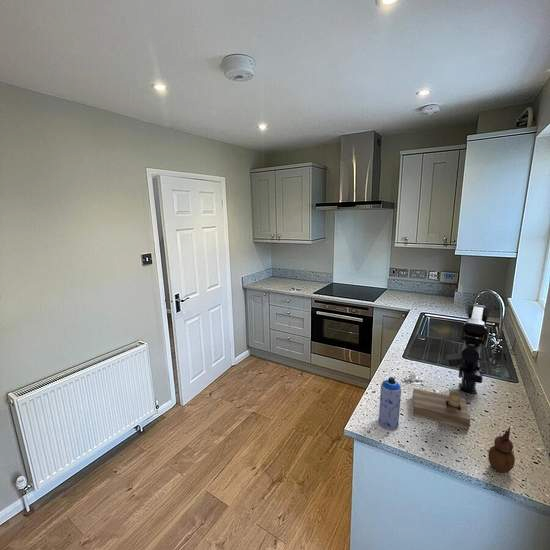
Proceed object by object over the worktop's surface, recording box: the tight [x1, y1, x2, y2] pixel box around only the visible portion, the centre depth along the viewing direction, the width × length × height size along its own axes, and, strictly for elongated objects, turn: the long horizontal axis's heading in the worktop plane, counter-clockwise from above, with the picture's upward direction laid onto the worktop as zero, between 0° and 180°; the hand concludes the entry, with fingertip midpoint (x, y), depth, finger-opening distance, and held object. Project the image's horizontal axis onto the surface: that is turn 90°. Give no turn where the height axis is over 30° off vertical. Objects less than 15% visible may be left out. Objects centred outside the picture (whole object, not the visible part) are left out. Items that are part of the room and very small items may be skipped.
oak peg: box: [448, 390, 461, 410], centre depth 122 cm, size 4×4×9 cm
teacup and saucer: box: [406, 371, 424, 385], centre depth 149 cm, size 9×8×4 cm
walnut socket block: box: [412, 387, 471, 430], centre depth 125 cm, size 14×20×4 cm
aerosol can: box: [377, 376, 402, 431], centre depth 117 cm, size 8×8×20 cm
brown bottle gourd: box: [487, 426, 516, 474], centre depth 96 cm, size 7×6×15 cm
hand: (467, 385), depth 124 cm, fingers closed
